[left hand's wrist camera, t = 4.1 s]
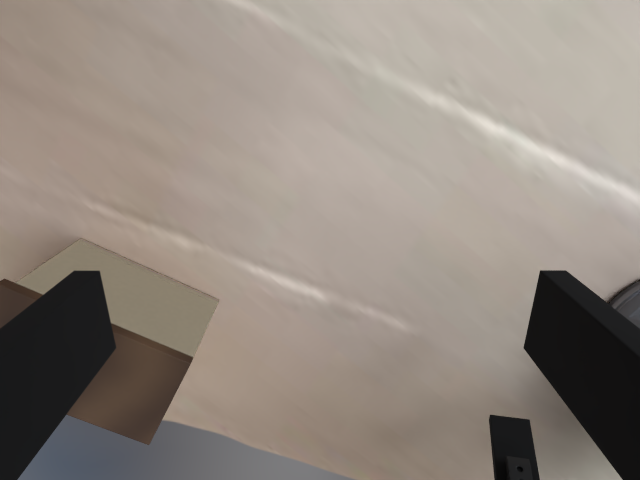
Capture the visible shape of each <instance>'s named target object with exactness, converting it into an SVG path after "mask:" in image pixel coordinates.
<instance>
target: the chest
mask: <svg viewBox="0 0 640 480" xmlns="http://www.w3.org/2000/svg"><path fill="white" fill-rule="evenodd" d="M73 271H100V274H101V279H102V283H103V288H104V293H105V297H106V302H107V307H108V311H109V316H110V321H111V323H112V324H114V325H117V326H119V327H121V328H124V329H126V330H129V331H131V332H133V333H136V334H138V335H141V336H143V337H145V338H148V339H150V340H153V341H155V342H157V343H160V344H162V345H165V346H167V347H169V348H172V349H174V350H177V351H179V352H181V353H184V354H186V355H189V356H191V357H194V355H195V353H196V351H197V349H198V346H199V344H200V342H201V340H202V337H203V335H204V333H205V331H206V329H207V326H208V324H209V322H210V320H211V318H212V315H213V313H214V311H215V309H216V306H217V304H218V302H219V300H218V299H216V298H213V297H211V296H209V295H207V294H204V293H202V292H200V291H198V290H196V289H193V288H191V287H189V286H187V285H184V284H182V283H180V282H178V281H175V280H173V279H171V278H169V277H166V276H164V275H162V274H160V273H158V272H155V271H153V270H151V269H149V268H146V267H144V266H142V265H140V264H137V263H135V262H133V261H131V260H129V259H126V258H124V257H122V256H120V255H117V254H115V253H113V252H111V251H108V250H106V249H104V248H102V247H100V246H97V245H95V244H93V243H91V242H88V241H86V240H84V239H79V240H78V241H77V242H75V243H73V244H72V245H70V246H69V247H67V248H66V249H64V250H63V251H61V252H60V253H58V254H57V255H55V256H54V257H53V258H51V259H50V260H48V261H47V262H45V263H44V264H42V265H41V266H39V267H38V268H36V269H35V270H33V271H32V272H30V273H29V274H28V275H26V276H25V277H23V278H22V279H20V280H19V281H17V282H16V284H18V285H21V286H23V287H26V288H28V289H30V290H33V291H35V292H38V293H40V294H42V295H44V294H45V293H46V292H47V291H49V290H50V289H51V288H53V287H54V286H55V285H56V284H58V283H59V282H60V281H61V280H63V279H64V278H65V277H67V276H68V275H69V274H70V273H72V272H73Z"/></svg>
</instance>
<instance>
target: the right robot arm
mask: <svg viewBox="0 0 640 480" xmlns="http://www.w3.org/2000/svg"><path fill="white" fill-rule="evenodd" d="M609 305H610V306H612V307H613V308H614V309H615V310H617V311H618V312H619V313H621V314H622V315H623V316H624V317H626V318H627V319H628V320H629V321H631V322H632V323H633V324H635V325H636V326H637V327H638V328H640V281H638V282H636V283H634V284H633V285H631V286H629V287H628V288H626V289H625V290H623V291H622V292H621V293H620V294H618V295H617V296H616V297H615V298H614V299H613V300H612V301H611V302H610V303H609ZM489 424H490V435H491V446H492V457H493V467H494V478H495V480H540V479H539V473H538V467H537V461H536V455H535V449H534V443H533V438H532V432H531V426H530V420H528V419H520V418H512V417H504V416H496V415H490V418H489Z"/></svg>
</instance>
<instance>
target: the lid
mask: <svg viewBox="0 0 640 480" xmlns="http://www.w3.org/2000/svg"><path fill="white" fill-rule="evenodd" d="M41 296H42V294H40V293H38V292H35V291H33V290H30V289H28V288H26V287H23V286H21V285H18V284H16V283H14V282H11V281H9V280H6V279H3V280H1V281H0V328H2V327H3V326H4V325H5V324H7V323H8V322H9V321H11V320H12V319H13V318H14V317H16V316H17V315H18V314H19V313H21V312H22V311H23V310H25V309H26V308H27V307H28V306H30V305H31V304H32V303H33V302H35V301H36V300H37V299H39V298H40V297H41ZM111 325H112V330H113V335H114V339H115V344H116V349H115V350H114V352H113V353H112V354H111V356H110V357H109V358H108V360H107V361H106V362H105V364H104V365H103V366H102V368H101V369H100V370H99V372H98V373H97V374H96V376H95V377H94V378H93V380H92V381H91V382H90V384H89V385H88V386H87V388H86V389H85V390H84V392H83V393H82V394H81V396H80V397H79V398H78V400H77V401H76V402H75V404H74V405H73V406H72V408H71V409H70V410H69V412H68V413H67V415H69V416H72V417H75V418H77V419H80V420H83V421H85V422H88V423H91V424H93V425H96V426H99V427H102V428H104V429H107V430H110V431H112V432H115V433H118V434H120V435H123V436H126V437H128V438H131V439H134V440H137V441H139V442H142V443H145V444H147V445H149V444H150V442H151V440H152V438H153V436H154V434H155V432H156V430H157V429H158V427H159V425H160V423H161V421H162V419H163V417H164V415H165V413H166V411H167V409H168V407H169V405H170V403H171V401H172V399H173V397H174V395H175V393H176V391H177V389H178V388H179V386H180V384H181V382H182V380H183V378H184V376H185V374H186V372H187V370H188V368H189V366H190V364H191V362H192V360H193V357H191V356H189V355H186V354H184V353H181V352H179V351H177V350H174V349H172V348H169V347H167V346H165V345H162V344H160V343H157V342H155V341H153V340H150V339H148V338H145V337H143V336H141V335H138V334H136V333H133V332H131V331H129V330H126V329H124V328H121V327H119V326H117V325H114V324H112V323H111Z"/></svg>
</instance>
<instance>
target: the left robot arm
mask: <svg viewBox="0 0 640 480" xmlns="http://www.w3.org/2000/svg"><path fill="white" fill-rule="evenodd" d="M115 349H116V344H115V339H114V335H113V330H112V325H111V321H110V316H109V311H108V307H107V302H106V297H105V293H104V288H103V283H102V279H101V274H100V271H73V272H72V273H70V274H69V275H68V276H67V277H65V278H64V279H63V280H61V281H60V282H59V283H58V284H56V285H55V286H54V287H53V288H51V289H50V290H49V291H47V292H46V293H45V294H44V295H42V296H41V297H40V298H39V299H37V300H36V301H35V302H33V303H32V304H31V305H30V306H28V307H27V308H26V309H25V310H23V311H22V312H21V313H19V314H18V315H17V316H16V317H14V318H13V319H12V320H11V321H9V322H8V323H7V324H5V325H4V326H3V327H2V328H0V480H17V479H18V478H19V477H20V475H21V474H22V473H23V471H24V470H25V469H26V467H27V466H28V465H29V463H30V462H31V461H32V459H33V458H34V457H35V455H36V454H37V453H38V451H39V450H40V449H41V447H42V446H43V445H44V443H45V442H46V441H47V439H48V438H49V437H50V435H51V434H52V433H53V431H54V430H55V429H56V427H57V426H58V425H59V423H60V422H61V421H62V419H63V418H64V417H65V415H66V414H67V413H68V412H69V410H70V409H71V408H72V406H73V405H74V404H75V402H76V401H77V400H78V398H79V397H80V396H81V394H82V393H83V392H84V390H85V389H86V388H87V386H88V385H89V384H90V382H91V381H92V380H93V378H94V377H95V376H96V374H97V373H98V372H99V370H100V369H101V368H102V366H103V365H104V364H105V362H106V361H107V360H108V358H109V357H110V356H111V354H112V353H113V352H114V350H115ZM524 349H525V350H526V352H527V353H528V354H529V356H530V357H531V358H532V360H533V361H534V362H535V364H536V365H537V366H538V368H539V369H540V370H541V372H542V373H543V374H544V376H545V377H546V378H547V380H548V381H549V382H550V384H551V385H552V386H553V388H554V389H555V390H556V392H557V393H558V394H559V396H560V397H561V398H562V400H563V401H564V402H565V404H566V405H567V406H568V408H569V409H570V410H571V412H572V413H573V414H574V416H575V417H576V418H577V419H578V421H579V422H580V423H581V425H582V426H583V427H584V429H585V430H586V431H587V433H588V434H589V435H590V437H591V438H592V439H593V441H594V442H595V443H596V445H597V446H598V447H599V449H600V450H601V451H602V453H603V454H604V455H605V457H606V458H607V459H608V461H609V462H610V463H611V465H612V466H613V467H614V469H615V470H616V471H617V473H618V474H619V475H620V477H621V478H622V479H623V480H640V328H638V327H637V326H636V325H635V324H633V323H632V322H631V321H629V320H628V319H627V318H626V317H624V316H623V315H622V314H621V313H619V312H618V311H617V310H615V309H614V308H613V307H612V306H610V305H609V304H608V303H607V302H605V301H604V300H603V299H601V298H600V297H599V296H598V295H596V294H595V293H594V292H593V291H591V290H590V289H589V288H587V287H586V286H585V285H584V284H582V283H581V282H580V281H579V280H577V279H576V278H575V277H573V276H572V275H571V274H570V273H568V272H567V271H540V274H539V279H538V283H537V288H536V293H535V297H534V302H533V307H532V311H531V316H530V321H529V325H528V330H527V335H526V339H525V344H524Z"/></svg>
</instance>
